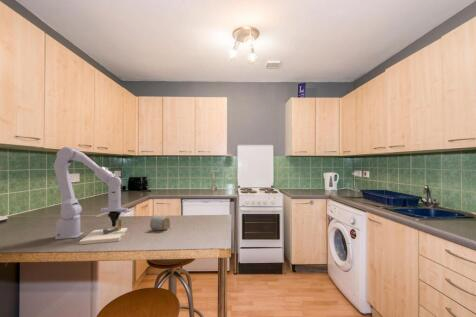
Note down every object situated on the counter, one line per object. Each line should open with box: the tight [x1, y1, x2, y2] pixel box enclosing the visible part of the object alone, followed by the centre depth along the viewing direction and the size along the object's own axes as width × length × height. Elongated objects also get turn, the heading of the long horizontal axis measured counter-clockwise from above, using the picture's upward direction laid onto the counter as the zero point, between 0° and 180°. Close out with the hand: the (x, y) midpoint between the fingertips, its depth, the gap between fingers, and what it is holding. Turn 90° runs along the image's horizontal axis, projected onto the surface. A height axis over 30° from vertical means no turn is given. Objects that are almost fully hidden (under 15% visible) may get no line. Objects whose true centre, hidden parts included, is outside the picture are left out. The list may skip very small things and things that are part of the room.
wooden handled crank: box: [102, 218, 122, 234], centre depth 118 cm, size 9×2×5 cm, turn 155°
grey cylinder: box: [149, 214, 171, 231], centre depth 128 cm, size 11×8×8 cm
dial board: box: [79, 227, 128, 245], centre depth 115 cm, size 16×18×2 cm
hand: (114, 226), depth 122 cm, fingers closed
